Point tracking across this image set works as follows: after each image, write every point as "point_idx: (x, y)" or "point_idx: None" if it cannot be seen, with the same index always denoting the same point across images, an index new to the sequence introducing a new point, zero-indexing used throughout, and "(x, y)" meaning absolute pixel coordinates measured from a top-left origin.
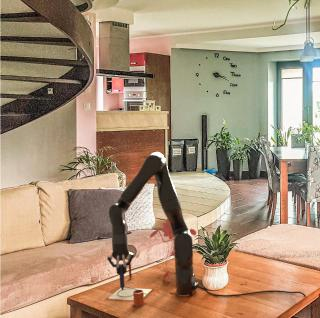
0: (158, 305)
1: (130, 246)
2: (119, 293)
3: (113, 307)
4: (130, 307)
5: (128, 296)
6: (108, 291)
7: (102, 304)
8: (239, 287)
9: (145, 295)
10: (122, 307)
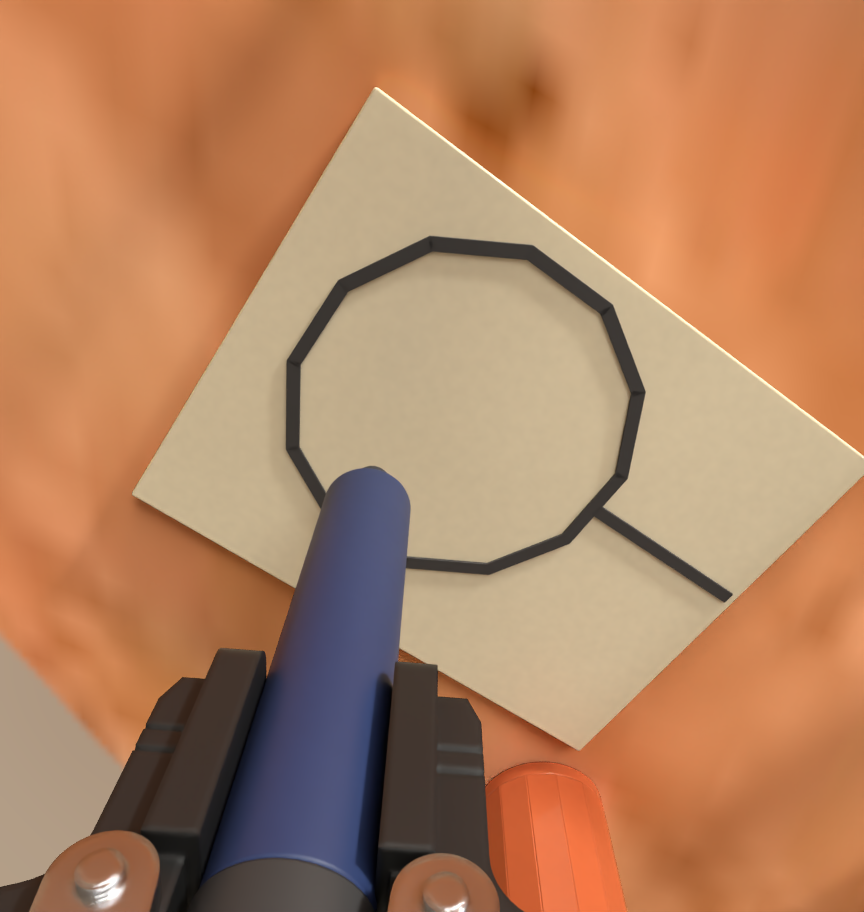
0: (741, 892)
1: None
2: (325, 391)
3: None
4: None
5: (451, 571)
6: (130, 132)
7: (78, 607)
8: None
9: (693, 638)
10: None
